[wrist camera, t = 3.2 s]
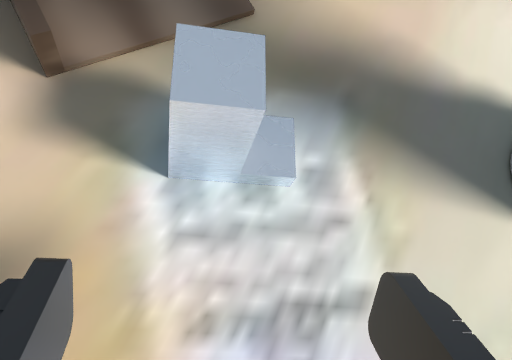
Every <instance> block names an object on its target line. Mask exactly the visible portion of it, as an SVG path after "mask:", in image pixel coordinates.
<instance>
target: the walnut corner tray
mask: <svg viewBox="0 0 512 360" xmlns="http://www.w3.org/2000/svg"><path fill="white" fill-rule="evenodd" d="M10 1H11V3H12V5H13V7H14V9H15V11H16V13H17V15H18V17H19V20H20V22H21V24H22V26H23V28H24V30H25V32H26V34H27V36H28V38H29V41H30V43H31V45H32V47H33V49H34V51H35V53H36V55H37V57H38V59H39V62H40V64H41V66H42V68H43V70H44V72H45V74H46V76H47V77H50V76H53V75H56V74H60V73H63V72H66V71H69V70H73V69H76V68H79V67H82V66H86V65H89V64H92V63H95V62H99V61H102V60H105V59H109V58H112V57H115V56H118V55H122V54H125V53H128V52H131V51H135V50H138V49H141V48H144V47H148V46H151V45H154V44H157V43H161V42H164V41H167V40H171V39H174V38H175V36H176V25H177V23H179V24H186V25H193V26H200V27H208V28H210V27H213V26H216V25H219V24H223V23H226V22H229V21H233V20H236V19H239V18H242V17H246V16H249V15H252V14H254V10H255V9H254V7H253V6H252V4H251V3H250V1H249V0H10Z"/></svg>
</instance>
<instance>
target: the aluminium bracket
mask: <svg viewBox="0 0 512 360" xmlns="http://www.w3.org/2000/svg"><path fill="white" fill-rule="evenodd" d="M265 111H266V69H265V35H258V34H251V33H244V32H237V31H229V30H222V29H215V28H208V27H200V26H193V25H186V24H179V23H177V25H176V36H175V47H174V58H173V69H172V80H171V90H170V105H169V157H168V178H179V179H193V180H206V181H219V182H233V183H246V184H260V185H273V186H286V187H290V186H291V184H292V183H293V181H294V180H295V179H296V168H295V142H294V118H285V117H275V116H266V115H264V114H265Z"/></svg>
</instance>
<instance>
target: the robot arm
mask: <svg viewBox="0 0 512 360" xmlns="http://www.w3.org/2000/svg"><path fill="white" fill-rule="evenodd" d="M510 162H511V173H512V154H511V159H510ZM461 320H462V319H461V318H460V317H459V316H458V315H457V313H456V312H455V311H454V310H453V309H452V307H451V306H450V305H449V304H447V303H446V302H445V301H443V300H442V299H440V298H439V297H438V296H436V295H435V294H433V293H432V292H429V291H428V290H427V289H426V287H425V286H424V285H423V284H422V282H421V281H420V280H419V279H418V277H417V276H416V275H414V274H413V273H394V272H386V273H384V274H383V275H382V276H381V278H380V281H379V285H378V288H377V292H376V295H375V299H374V302H373V306H372V309H371V313H370V316H369V321H368V330H369V336H370V339H371V342H372V344H373V346H374V348H375V350H376V352H377V354H378V355H379V357H380V359H381V360H496V359H495V358H494V357H493V356H492V355H491V354H490V352H489V351H488V350H487V349H486V348H485V346H484V345H483V344H482V343H481V342H480V341H479V339H478V338H477V337H476V336H475V335H474V334H472V331H471V330H470V329H469V328H468V326H467V325H466V324H465V323H464V322H462V321H461ZM72 322H73V279H72V262H71V260H70V259H56V258H36V259H35V260H34V261H33V263H32V264H31V266H30V268H29V269H28V271H27V273H26V274H25V276H24V278H23V279H7V280H5V281H4V282H3V283H1V284H0V360H61V359H62V356H63V354H64V351H65V348H66V345H67V343H68V340H69V337H70V333H71V328H72Z"/></svg>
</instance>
